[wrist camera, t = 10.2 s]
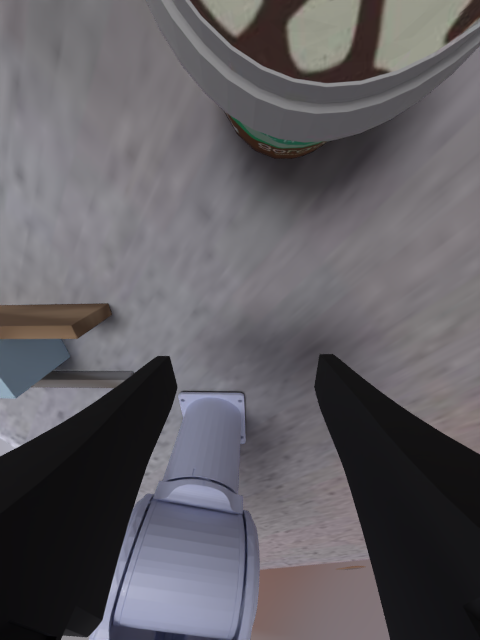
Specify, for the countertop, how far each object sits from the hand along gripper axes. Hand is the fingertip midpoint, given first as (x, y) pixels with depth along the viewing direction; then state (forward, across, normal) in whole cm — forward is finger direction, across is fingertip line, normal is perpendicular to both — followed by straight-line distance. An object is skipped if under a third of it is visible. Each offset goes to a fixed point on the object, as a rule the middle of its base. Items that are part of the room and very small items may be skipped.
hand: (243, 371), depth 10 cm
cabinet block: (+10, +23, +4) cm, 25 cm away
